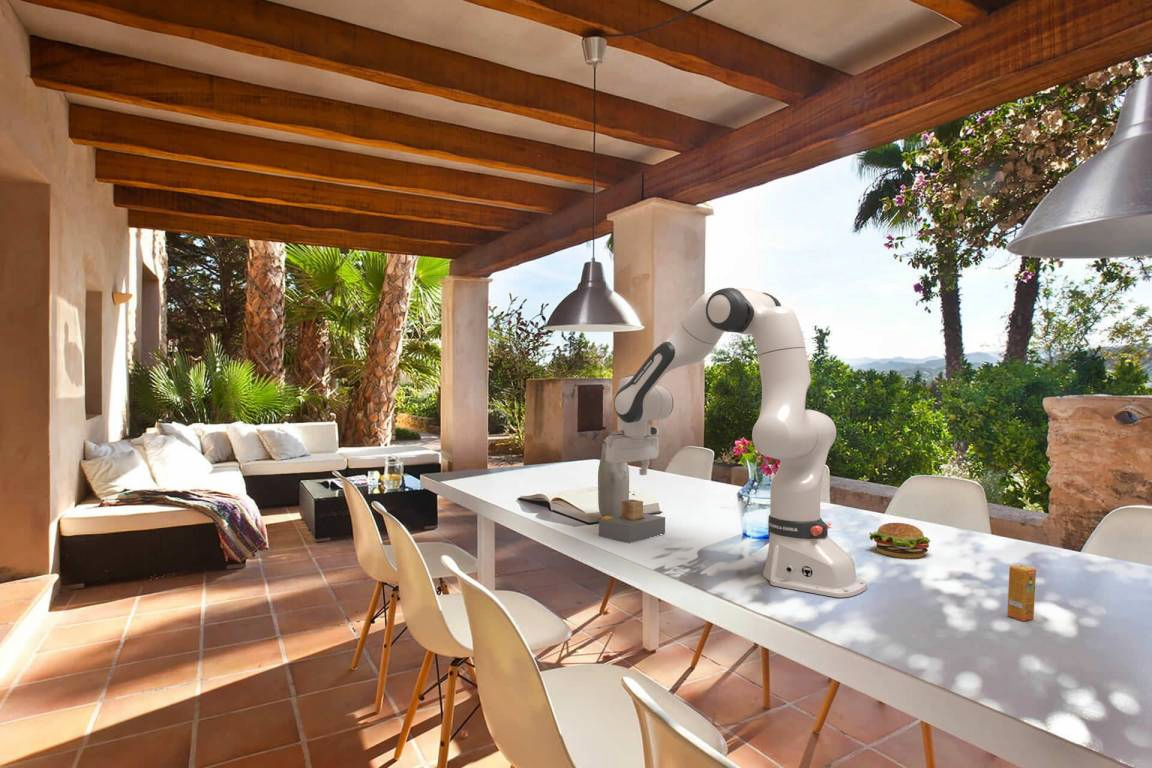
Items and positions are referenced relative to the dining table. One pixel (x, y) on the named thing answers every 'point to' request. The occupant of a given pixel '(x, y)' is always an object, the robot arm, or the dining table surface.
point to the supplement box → (1021, 592)
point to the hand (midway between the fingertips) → (632, 476)
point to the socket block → (631, 527)
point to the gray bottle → (611, 486)
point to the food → (900, 540)
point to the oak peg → (632, 510)
